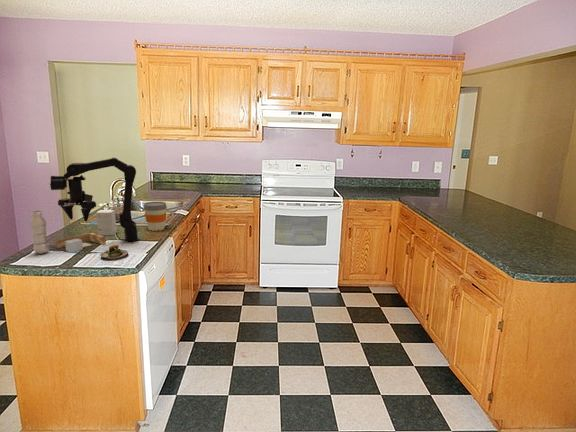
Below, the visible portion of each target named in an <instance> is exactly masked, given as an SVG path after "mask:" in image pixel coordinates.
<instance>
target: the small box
mask: <svg viewBox="0 0 576 432" xmlns="http://www.w3.org/2000/svg"><path fill="white" fill-rule="evenodd" d="M95 215H96V216H95V217H96V226H97V234H98V235H101V236H114V235H115V234H116V233H117V232H118V231H117V220H116V219H117V218H116V211H115V209H99V210H97V211H96V213H95Z"/></svg>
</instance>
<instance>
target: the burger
mask: <svg viewBox="0 0 576 432" xmlns="http://www.w3.org/2000/svg"><path fill="white" fill-rule="evenodd" d="M126 255H127V256H129V252H128V250H125V249H124V250H123V249H120V247H119V245H118V244H117V243H114V242H113V240H112V244H110V245H108V250H105V251H103V252H101V253H100V259H101V260H103V259H108V260H113V259H120V258H124V257H125V256H126Z"/></svg>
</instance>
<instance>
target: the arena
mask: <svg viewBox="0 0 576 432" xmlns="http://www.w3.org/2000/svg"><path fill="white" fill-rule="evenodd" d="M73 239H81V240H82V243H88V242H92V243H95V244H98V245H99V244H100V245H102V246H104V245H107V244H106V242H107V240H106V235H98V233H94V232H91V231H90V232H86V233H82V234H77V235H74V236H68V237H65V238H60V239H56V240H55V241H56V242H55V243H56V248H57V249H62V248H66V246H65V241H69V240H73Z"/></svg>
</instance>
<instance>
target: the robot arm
mask: <svg viewBox="0 0 576 432" xmlns="http://www.w3.org/2000/svg"><path fill="white" fill-rule="evenodd" d="M110 167H114V168H116V169H117V170H119V172H120V171H121V172H122V173H123V175H124V176H123V177H124V195H123V209H122V211H119V212H118V213H119V214H118V215H119V218H118V223H119V225H120V226H121V227H122V228H123V230H124V239H122V242H126V243H129V244H131V243H134V242H138V241H141V238H138V229H137V222H135V221H133V219H132V210H131V209H132V199H133V188H134V187H133V185H134V181H135V178H136V175H137V169H136V167H135V166H134V165H132V164H128V163H125V162H124V161H121V160H120V159H118V158H117V157H111V158H107V159H100V160H95V161H90V162H72V163H69V165H68V166H67V167H66V172H65V173H64V174H63V175H51V176H50V184H49V185H50V186H49V187H50V190H51V191H62V190H63V191H64V190H66V188H68V191H67V192H66V193H67V195H69V197H67V198H66V197H65V198H60V199H58V200H57V205H58V206H59V207H60V208H61V209H62V210H63V211H64V212H65V214H66V215H67V217H68V218H69V220H73V215H74V214H73V208H74V206H79V207H81V208H80V211H81V215H82V219H83V220H84V222H88V220H89V216H90V214H91V213H90V212H91V210H93V209H95V208H96V207H97V202H96V201H94V200H93V198H94V196H93V195H92V194H88V193H86V192H85V190H83V184H82V183H83V182H82V181H85V180H86V177H85V176H84V175H83V174H84V173H87V172H90V171H94V170H100V169H105V168H110ZM79 175H80V176H79Z"/></svg>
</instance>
